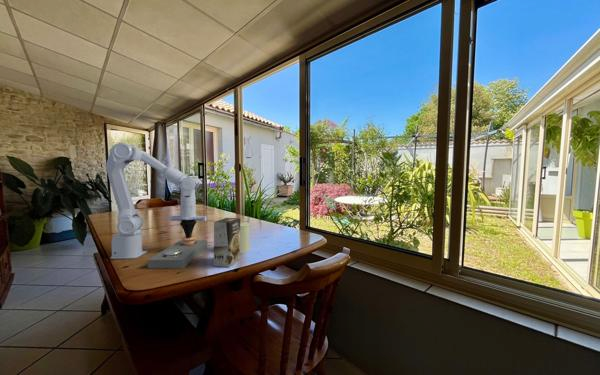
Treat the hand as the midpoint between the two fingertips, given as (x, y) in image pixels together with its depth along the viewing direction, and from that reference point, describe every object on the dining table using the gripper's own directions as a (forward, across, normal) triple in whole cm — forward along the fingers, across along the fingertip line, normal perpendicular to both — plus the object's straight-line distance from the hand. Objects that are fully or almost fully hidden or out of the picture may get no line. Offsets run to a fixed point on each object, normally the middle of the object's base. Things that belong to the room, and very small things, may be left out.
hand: (188, 237), depth 103 cm
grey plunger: (+5, 0, -14) cm, 15 cm away
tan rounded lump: (+4, 0, 0) cm, 4 cm away
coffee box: (+6, +20, -14) cm, 25 cm away
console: (+6, 0, -7) cm, 9 cm away
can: (+6, +21, +1) cm, 22 cm away
